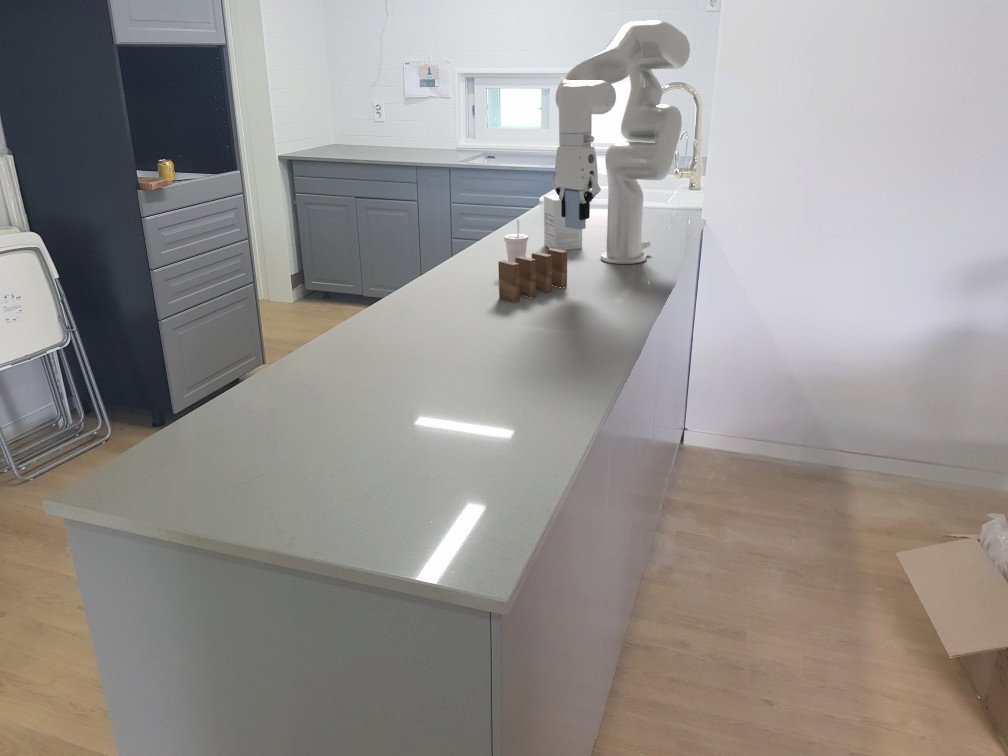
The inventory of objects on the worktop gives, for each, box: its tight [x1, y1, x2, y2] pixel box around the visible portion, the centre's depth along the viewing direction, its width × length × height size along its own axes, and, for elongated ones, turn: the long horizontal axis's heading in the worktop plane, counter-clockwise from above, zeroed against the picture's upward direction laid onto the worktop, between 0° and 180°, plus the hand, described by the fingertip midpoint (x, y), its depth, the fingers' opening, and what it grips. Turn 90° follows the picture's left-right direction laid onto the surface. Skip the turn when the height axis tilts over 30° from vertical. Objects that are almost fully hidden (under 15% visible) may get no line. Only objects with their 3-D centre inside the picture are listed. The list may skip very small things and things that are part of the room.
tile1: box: [565, 189, 587, 231], centre depth 189 cm, size 2×5×9 cm, turn 45°
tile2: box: [546, 248, 568, 289], centre depth 193 cm, size 2×5×9 cm, turn 43°
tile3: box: [531, 251, 553, 294], centre depth 190 cm, size 2×5×9 cm, turn 43°
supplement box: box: [543, 194, 583, 251], centre depth 232 cm, size 9×9×15 cm
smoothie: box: [503, 219, 529, 263], centre depth 205 cm, size 6×6×14 cm
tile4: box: [515, 256, 537, 298], centre depth 186 cm, size 2×5×9 cm, turn 43°
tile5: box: [497, 259, 520, 304], centre depth 183 cm, size 2×5×9 cm, turn 43°
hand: (575, 216), depth 190 cm, fingers closed on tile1, 4 cm apart
